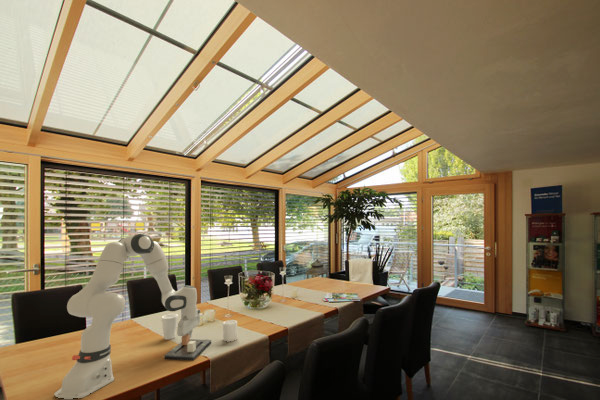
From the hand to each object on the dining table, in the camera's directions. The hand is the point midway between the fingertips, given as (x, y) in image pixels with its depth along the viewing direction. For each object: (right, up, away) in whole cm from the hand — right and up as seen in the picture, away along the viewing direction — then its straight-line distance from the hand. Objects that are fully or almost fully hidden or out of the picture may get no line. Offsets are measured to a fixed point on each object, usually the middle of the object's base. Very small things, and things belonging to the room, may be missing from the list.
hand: (188, 338), depth 177 cm
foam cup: (-16, -5, +12) cm, 21 cm away
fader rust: (0, -2, -4) cm, 5 cm away
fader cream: (+6, -1, -13) cm, 15 cm away
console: (+3, -3, -8) cm, 9 cm away
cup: (+22, -5, +10) cm, 24 cm away
